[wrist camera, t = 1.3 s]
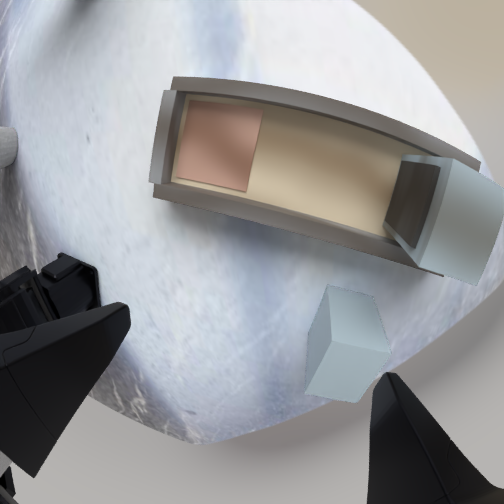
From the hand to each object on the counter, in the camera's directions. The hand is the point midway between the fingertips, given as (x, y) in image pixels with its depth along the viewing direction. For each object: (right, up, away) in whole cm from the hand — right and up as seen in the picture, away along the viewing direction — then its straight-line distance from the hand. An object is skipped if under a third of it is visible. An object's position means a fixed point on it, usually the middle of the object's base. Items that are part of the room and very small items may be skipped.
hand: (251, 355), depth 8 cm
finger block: (+7, -2, +13) cm, 15 cm away
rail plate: (+5, +9, +9) cm, 14 cm away
